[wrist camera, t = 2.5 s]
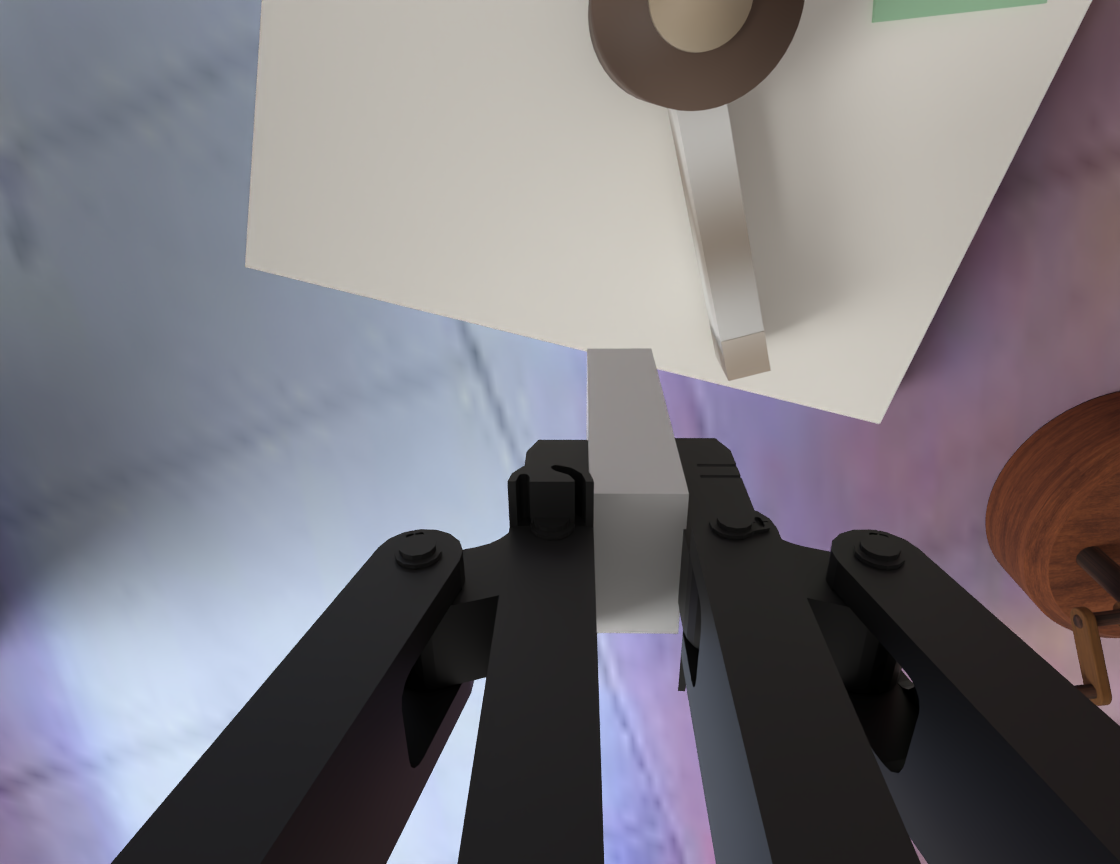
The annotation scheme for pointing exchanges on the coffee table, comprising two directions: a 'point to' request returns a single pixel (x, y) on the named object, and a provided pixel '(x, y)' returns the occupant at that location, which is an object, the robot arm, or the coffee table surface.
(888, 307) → the board
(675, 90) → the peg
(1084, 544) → the music box
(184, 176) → the coffee table surface
